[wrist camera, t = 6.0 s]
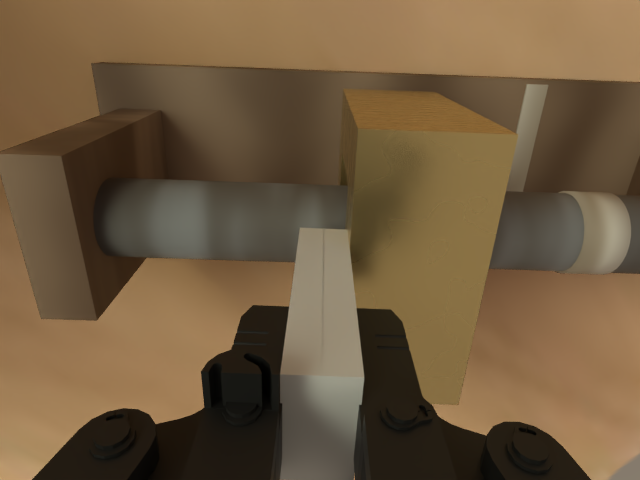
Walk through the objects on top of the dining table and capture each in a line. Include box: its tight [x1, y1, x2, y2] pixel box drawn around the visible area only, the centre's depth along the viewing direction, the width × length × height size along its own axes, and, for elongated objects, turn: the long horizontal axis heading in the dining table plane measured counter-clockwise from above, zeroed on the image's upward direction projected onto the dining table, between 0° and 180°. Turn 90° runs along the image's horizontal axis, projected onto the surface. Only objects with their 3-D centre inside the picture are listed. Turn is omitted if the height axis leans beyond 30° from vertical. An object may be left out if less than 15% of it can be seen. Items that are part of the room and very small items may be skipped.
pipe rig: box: [0, 62, 640, 321], centre depth 19 cm, size 30×10×10 cm, turn 88°
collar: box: [338, 89, 518, 405], centre depth 17 cm, size 4×9×9 cm, turn 178°
